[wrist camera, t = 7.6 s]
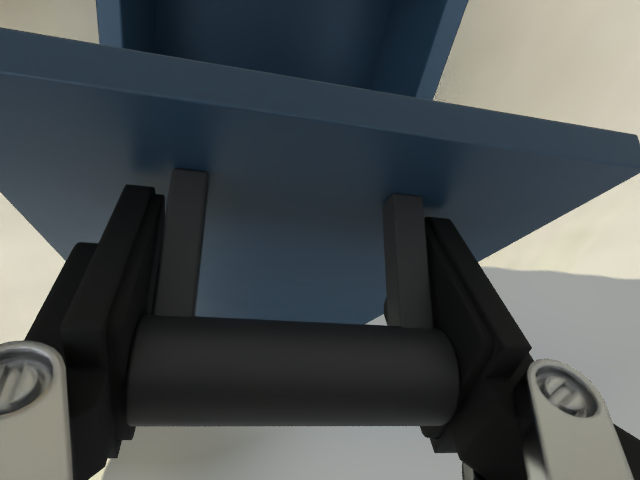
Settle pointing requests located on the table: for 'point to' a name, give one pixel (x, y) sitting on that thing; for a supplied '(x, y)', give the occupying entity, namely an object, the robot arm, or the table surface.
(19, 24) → the table surface
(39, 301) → the table surface
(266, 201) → the lunchbox lid
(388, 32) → the box
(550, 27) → the table surface
